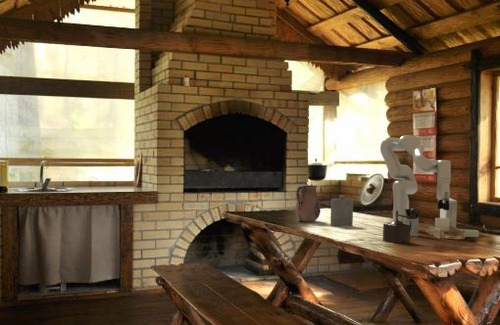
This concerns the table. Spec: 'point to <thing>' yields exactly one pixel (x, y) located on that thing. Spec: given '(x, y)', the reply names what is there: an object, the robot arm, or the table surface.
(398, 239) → the dark brown coffee grinder
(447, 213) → the packaging
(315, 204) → the ceramic pitcher
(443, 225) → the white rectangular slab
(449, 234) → the offcut walnut
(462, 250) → the table surface
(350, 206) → the hip flask
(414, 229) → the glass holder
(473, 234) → the holder
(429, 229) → the rack
